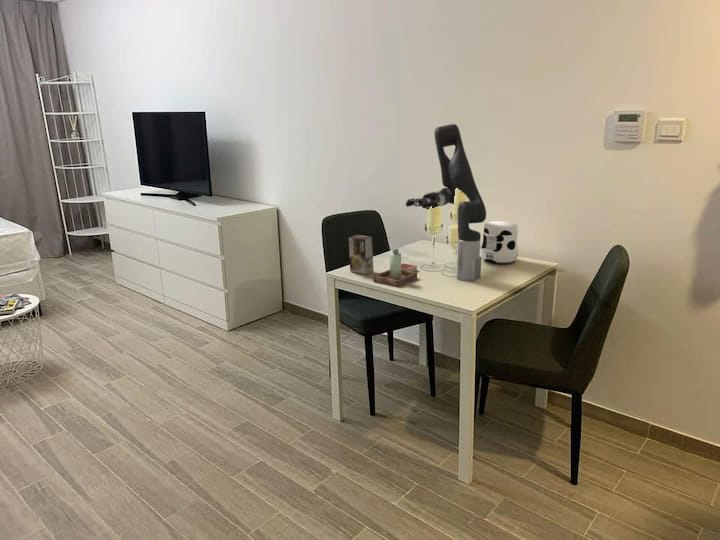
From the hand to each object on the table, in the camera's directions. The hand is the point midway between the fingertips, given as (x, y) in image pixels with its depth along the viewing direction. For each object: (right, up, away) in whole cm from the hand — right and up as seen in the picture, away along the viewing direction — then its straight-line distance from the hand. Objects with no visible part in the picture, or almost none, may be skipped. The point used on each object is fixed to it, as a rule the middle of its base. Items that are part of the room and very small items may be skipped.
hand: (414, 205), depth 239 cm
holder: (-4, -29, +7) cm, 30 cm away
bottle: (-9, -32, -6) cm, 34 cm away
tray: (-9, -33, -6) cm, 35 cm away
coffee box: (-24, -30, +7) cm, 38 cm away
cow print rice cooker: (+42, -25, +19) cm, 52 cm away
